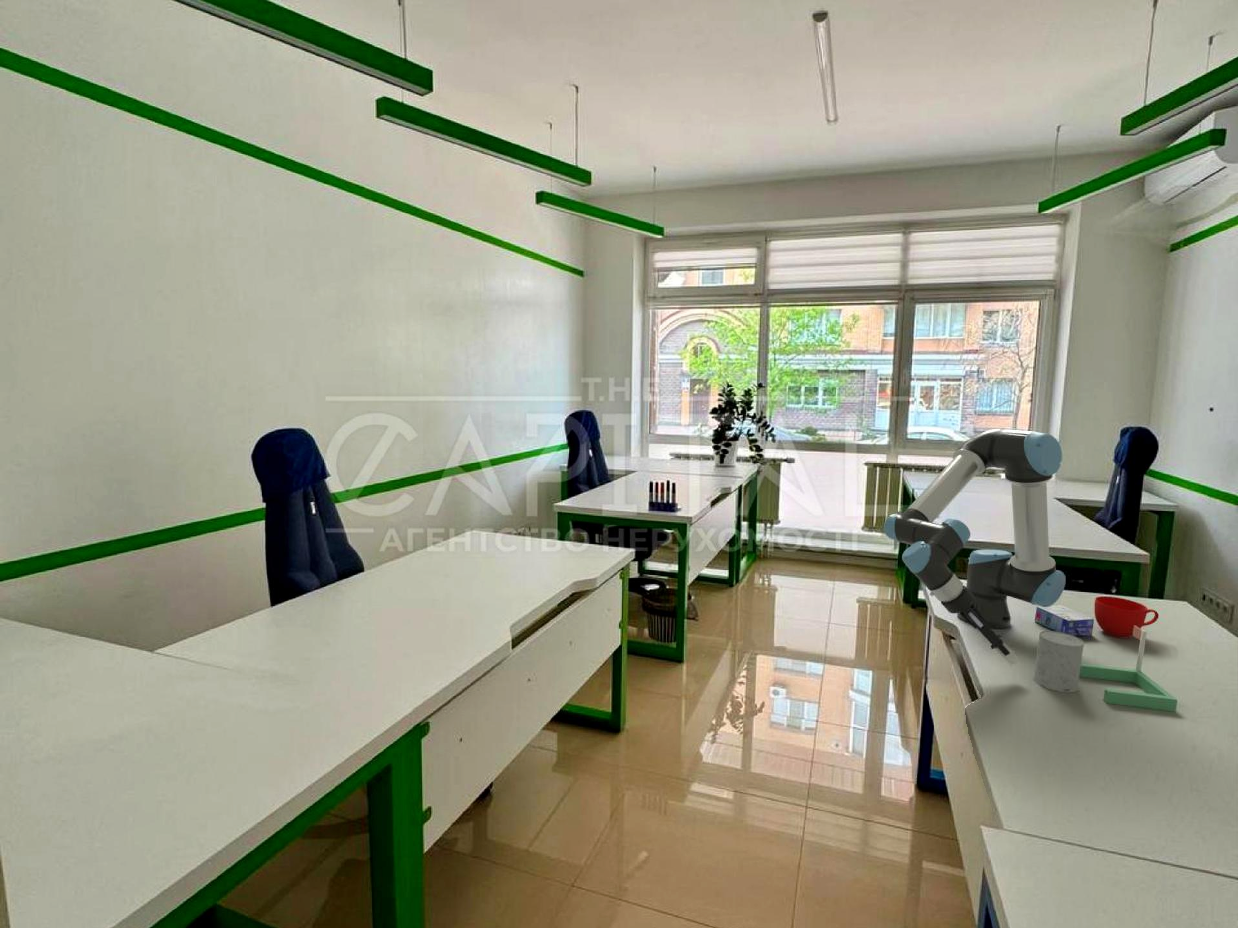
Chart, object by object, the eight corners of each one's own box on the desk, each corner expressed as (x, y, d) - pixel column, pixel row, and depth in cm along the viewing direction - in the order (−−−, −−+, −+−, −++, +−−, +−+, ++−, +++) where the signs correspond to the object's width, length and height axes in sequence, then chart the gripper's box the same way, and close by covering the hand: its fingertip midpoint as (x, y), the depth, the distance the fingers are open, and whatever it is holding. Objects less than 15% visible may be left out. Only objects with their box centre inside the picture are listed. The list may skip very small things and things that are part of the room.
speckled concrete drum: (1077, 696, 159) (1083, 649, 157) (1031, 684, 165) (1037, 638, 163) (1078, 682, 167) (1084, 637, 165) (1035, 671, 172) (1040, 627, 171)
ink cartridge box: (1033, 622, 209) (1072, 639, 194) (1035, 606, 208) (1074, 622, 194) (1059, 621, 210) (1100, 637, 196) (1061, 604, 210) (1102, 620, 196)
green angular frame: (1069, 667, 175) (1076, 618, 173) (1130, 674, 172) (1138, 625, 170) (1106, 702, 156) (1114, 648, 154) (1175, 711, 153) (1184, 655, 151)
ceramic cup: (1167, 646, 192) (1172, 614, 191) (1104, 639, 196) (1108, 608, 194) (1142, 629, 205) (1146, 599, 204) (1082, 624, 208) (1086, 594, 207)
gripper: (933, 593, 176) (993, 659, 174) (946, 610, 163) (1011, 681, 162) (956, 577, 174) (1017, 643, 172) (971, 592, 161) (1037, 664, 160)
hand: (1014, 661), depth 167 cm, fingers closed
